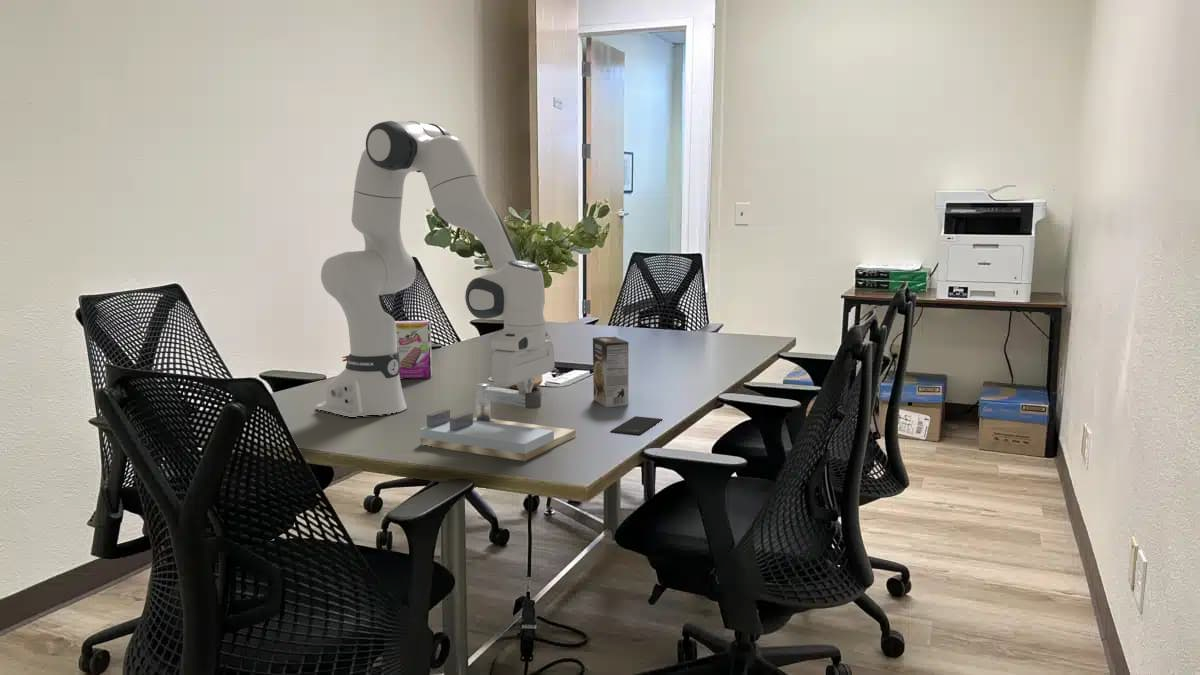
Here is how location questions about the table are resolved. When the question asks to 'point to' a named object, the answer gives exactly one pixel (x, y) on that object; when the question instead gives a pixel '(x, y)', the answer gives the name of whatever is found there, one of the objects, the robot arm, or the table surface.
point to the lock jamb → (491, 436)
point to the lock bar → (502, 399)
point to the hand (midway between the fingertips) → (525, 398)
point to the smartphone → (636, 426)
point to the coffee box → (610, 371)
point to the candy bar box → (414, 349)
